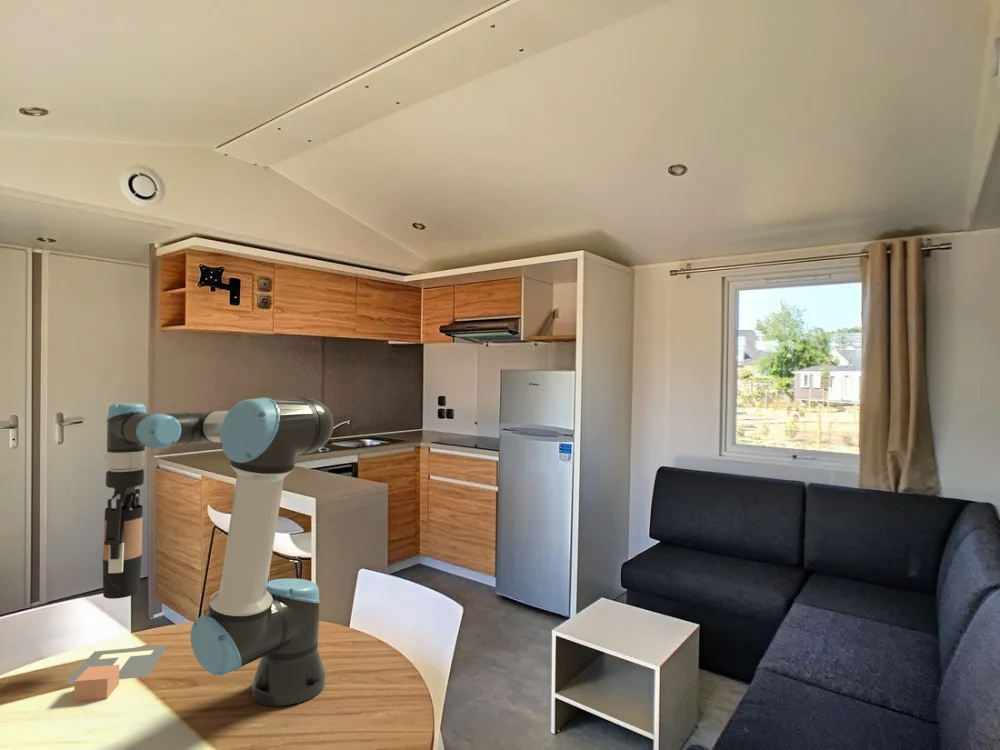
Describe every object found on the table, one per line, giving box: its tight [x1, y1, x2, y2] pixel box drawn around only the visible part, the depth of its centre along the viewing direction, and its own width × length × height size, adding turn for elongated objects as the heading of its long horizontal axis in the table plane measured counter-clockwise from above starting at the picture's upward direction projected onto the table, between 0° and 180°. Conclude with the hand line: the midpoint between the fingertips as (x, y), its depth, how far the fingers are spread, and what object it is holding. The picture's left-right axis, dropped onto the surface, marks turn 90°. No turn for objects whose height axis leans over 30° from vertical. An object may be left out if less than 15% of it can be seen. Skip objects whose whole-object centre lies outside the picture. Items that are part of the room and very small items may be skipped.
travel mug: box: [102, 504, 144, 600], centre depth 136 cm, size 8×8×20 cm
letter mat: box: [64, 644, 169, 686], centre depth 136 cm, size 16×16×1 cm
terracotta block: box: [73, 665, 120, 703], centre depth 123 cm, size 6×6×5 cm
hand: (122, 566), depth 136 cm, fingers closed on travel mug, 8 cm apart
